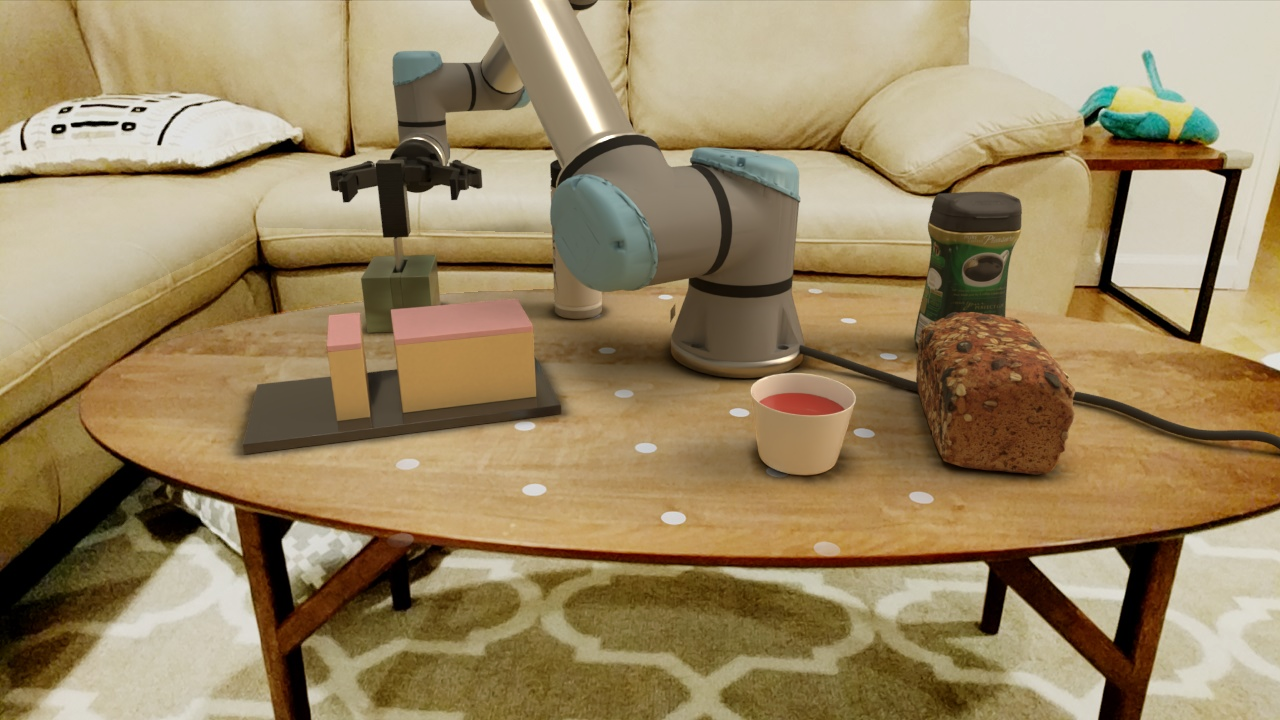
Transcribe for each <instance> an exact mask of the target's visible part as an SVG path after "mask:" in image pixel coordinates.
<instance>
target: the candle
mask: <svg viewBox="0 0 1280 720" xmlns="http://www.w3.org/2000/svg"><path fill="white" fill-rule="evenodd" d="M749 393H750V402H751V408H752V409H751V410H752V416H753V425H754V431H755V438H756V445H757V452H758V456H759V459H761V461H762V462H763V464H765V465H767V466H768V467H769V468H771V469H772V470H775V471H777V472H781V473H784V474H790V475H794V476H813V475H818V474H823V473H825V472H828V471H829V470H831V469H832V468H833V467H834V466H835V465H836V463H837V462H838V459H839V456H840V453H841V450H842V447H843V444H844V441H845V437H846V434H847V431H848V428H849V424H850V422H851V418H852V414H853V412H854V408H855V406H856V401H857V396H856V394H855V392H854V391H853V390H852V388H850V387H849V386H848V385H846V384H844V383H842V382H840V381H838V380H836V379H833V378H831V377H826V376H823V375H819V374H811V373H800V372H784V373H781V374H776V375H771V376H766V377H761V378H759V379H758V380H756V381H755V382H754V383H753V384H752V385H751V387H750V391H749Z"/></svg>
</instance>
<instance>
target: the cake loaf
mask: <svg viewBox="0 0 1280 720" xmlns="http://www.w3.org/2000/svg"><path fill="white" fill-rule="evenodd" d="M391 318H392V327H393V332H392V335H393V344H394V354H395V363H396V369H397V372H398V381H399V388H400V396H401V403H402V411H403V413H407V412H415V411H423V410H432V409H440V408H448V407H456V406H465V405H473V404H481V403H489V402H498V401H506V400H514V399H522V398H531V397H536V381H535V359H534V355H535V340H534V339H535V338H534V337H535V336H534V325H533V323H532V322H531V320H530V318H529V317H528V314H527V312H526V311H525V310H524V308H523V307H522V304H521V302H520V300H519V299H518V298H516V297H515V298H508V299H506V298H505V299H496V300H495V299H494V300H482V301H471V302H462V303H450V304H449V303H448V304H440V305H437V306H426V307H415V308H404V309H392V310H391Z"/></svg>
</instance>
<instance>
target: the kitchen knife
mask: <svg viewBox="0 0 1280 720" xmlns="http://www.w3.org/2000/svg"><path fill="white" fill-rule="evenodd" d="M375 167H376V175H377V184H378V186H377V192H378V193H377V194H378V201H379V211H380V221H381V230H382V238H385V239H386V238H389V239H390V238H393V239H392V241H393V242H392V243H393V249H394V256H395V261H396V271H397V273H402V272H403V270H404V268H405V265H404V256H405V255H404V247H403V238H408V237H409V236H410V234H411V232H412V231H411V229H412V228H411V220H410V218H411V217H410V210H409V198H408V191H407V187H406V177H405V166H404V160H403V159H401V160H390V159H378V160H377V161H376V162H375Z"/></svg>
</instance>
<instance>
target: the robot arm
mask: <svg viewBox="0 0 1280 720" xmlns="http://www.w3.org/2000/svg"><path fill="white" fill-rule="evenodd" d="M469 1H470V4H471V6H472V7H473V9H474V10H475V11H476V13H477V14H478V15H479V16H481V17H482V18H483V19H485V20H487V21H490V22H493V23H494V24H495V27H496V29H497V31H498V34H497V35H496V37H495V38H494V40H493V41H492V44H491V45H490V46H489V48H488V50H487V51H486V53H485V55H484V56H483V57H482V59H481V60H480V61H477V62H443V60H442V56H441V54H440V52H438V51H435V50H401V51H397V52H396V53H394V55H393V56H392V85H393V92H394V101H395V109H396V119H397V133H398V142H399V144H398V145H397V146H396V148H395V149H394V150H393V151H392V153H391V154H390V157H389V160H401V159H403V160H404V166H405V177H406V187H407V192H409V193H412V194H413V193H414V194H420V193H421V194H422V193H425V192H428V191H430V190H432V189H433V188H434V187H436V186H445V187H449V190H450V201H458V199H459V196H460V192H461V191H467V190H468V189H469V190H470V187H471V188H472V189H476V190H480V189H482V188H483V173H482V169H481V168H478V167H475V166H472V165H469V164H466V163H464V162H462V161H461V160H460V159H454V160H452V161H449V160H450V159H451V146H450V143H449V141H448V134H447V118H446V115H447V113H448V114H449V113H463V112H464V113H465V112H482V111H483V112H484V111H511V110H513V109H521V108H525V107H527V106H528V105H529V103H531V104H532V107H533V109H534V111H535V113H536V115H537V117H538V120H539V122H540V124H541V126H542V128H543V131H544V133H545V135H546V137H547V139H548V142H549V143H550V146H551V148H552V150H553V153H554V155H555V157H556V160H557V159H558V161H559V163H560V165H561V168H562V170H561V171H560V173H559V175H558V178H557V181H556V191H555V193H554V195H553V198H552V201H551V200H550V211H549V217H550V225H551V227H552V226H553V227H554V229H555V234H554V235H553V237H554V241H555V244H556V247H557V250H558V252H559V254H560V257H561V259H562V260H563V262H564V264H565V265H566V267H567V268H568V270H569V271H570V273H571V274H572V275H573V276H574V277H575V278H576V279H577V280H578V281H579V282H580V283H582V284H583V285H585V286H586V287H588V288H590V289H594V290H597V291H600V292H602V293H612V292H619V291H625V292H626V291H627V292H634V291H639V290H641V289H643V288H646V287H653V286H657V285H662V284H663V285H664V284H668V283H672V282H678V281H683V280H688V286H687V291H686V294H685V297H684V299H683V303H682V305H681V308H680V310H679V313H678V316H677V318H676V321H675V324H674V327H673V330H672V332H671V336H670V353H671V356H672V358H673V359H674V360H675V361H676V362H677V363H679V364H680V365H683V366H684V367H686V368H687V369H690V370H693V371H696V372H699V373H702V374H705V375H709V376H715V377H722V378H723V377H724V378H735V379H754V378H764V377H767V376H771V375H776V374H784V373H788V372H789V371H791V370H793V369H795V368H796V367H798V366H800V364H801V363H802V362H803V359H804V356H806V357H810V358H813V359H816V360H820V361H823V362H825V363H828V364H832V365H833V366H838V367H841V368H844V369H846V370H849V371H852V372H855V373H858V374H861V375H864V376H866V377H870V378H873V379H876V380H878V381H879V380H880V381H883V382H886V383H888V384H890V385H894V386H897V387H900V388H903V389H906V390H908V391H909V390H910V391H913V392H916V393H918V383H917V382H916V381H913V380H910V379H907V378H904V377H900V376H897V375H895V374H892V373H889V372H885V371H882V370H880V369H876V368H873V367H870V366H867V365H864V364H860V363H858V362H854V361H852V360H850V359H846V358H844V357H841V356H838V355H834V354H832V353H828V352H825V351H822V350H819V349H815V348H811V347H809V346H806V345H805V338H804V335H803V331H802V328H801V323H800V320H799V316H798V312H797V308H796V303H795V300H794V296H793V279H794V278H793V277H794V266H795V253H796V243H797V233H798V221H799V211H800V210H799V207H800V204H801V197H800V171H799V168H798V167H797V165H796V163H795V162H794V161H792V160H791V159H789V158H786V157H782V156H779V155H774V154H767V153H762V152H756V151H749V150H741V149H731V148H723V147H722V148H721V147H705V146H703V147H696V148H694V149H693V150H692V153H691V156H690V158H689V162H690V164H691V165H679V166H671V165H669V164H668V162H667V159H666V158H665V156H664V154H663V152H662V150H661V148H660V146H659V144H658V142H657V141H656V140H655V139H654V138H653V137H652V136H651V135H649V134H646V133H643V132H637V131H635V129H634V128H633V125H632V124H631V121H630V119H629V117H628V116H627V113H626V112H625V110H624V108H623V106H622V104H621V102H620V100H619V98H618V96H617V94H616V92H615V90H614V88H613V86H612V84H611V81H610V80H609V78H608V76H607V74H606V71H604V68H603V66H602V64H601V62H600V60H599V58H598V56H597V54H596V53H595V50H594V49H593V47H592V45H591V42H590V41H589V38H588V37H587V35H586V32H585V31H584V28H583V27H582V25H581V23H580V21H579V19H578V17H577V16H578V14H579V13H580V12H585V11H588V10H589V9H591V8H592V7H594V6H595V5H596V4H597V2H598V1H599V0H469ZM375 164H376V162H374V161H372V160H366V161H364V162H362V163H360V164H355V165H352V166H348V167H344V168H340V169H336V170H331V171H329V172H328V173H329V181H330V188H331V191H332V192H339V193H341V196H342V202H343V203H350V202H351V201H352V200H353V199H354V198H355V197H356V196H357V194H358V193H359V190H364V189H369V188H375V187H378V184H377V175H376V166H375ZM669 314H670V315H669V316H670V320H669V323H672V321H673V319H675V316H676V303H674V304H673V305H672V307H671V309H670V313H669ZM1073 401H1074V402H1080V403H1085V404H1089V405H1094V406H1099V407H1102V408H1106V409H1109V410H1111V411H1112V410H1113V411H1116V412H1119V413H1120V414H1124V415H1126V416H1129V417H1130V418H1134V419H1136V420H1138V421H1141V422H1143V423H1145V424H1147V425H1149V426H1153V427H1154V428H1157V429H1160V430H1162V431H1166V432H1168V433H1171V434H1174V435H1177V436H1181V437H1185V438H1189V439H1193V440H1194V439H1195V440H1199V441H1212V442H1213V441H1214V442H1231V441H1233V442H1234V441H1235V442H1237V441H1239V442H1240V441H1244V442H1245V441H1247V442H1249V441H1250V442H1258V443H1259V442H1260V443H1265V444H1268V445H1271V446H1273V447H1275V448H1277V449H1278V450H1280V436H1278V435H1276V434H1274V433H1270V432H1266V431H1260V430H1249V429H1248V430H1247V429H1232V430H1227V429H1226V430H1213V429H1211V430H1210V429H1200V428H1199V429H1198V428H1193V427H1189V426H1186V425H1182V424H1179V423H1175V422H1173V421H1169V420H1166V419H1164V418H1161V417H1158V416H1156V415H1154V414H1151V413H1149V412H1147V411H1144V410H1142V409H1140V408H1137V407H1134V406H1132V405H1130V404H1127V403H1124V402H1121V401H1118V400H1115V399H1111V398H1107V397H1104V396H1099V395H1096V394H1091V393H1086V392H1081V391H1077V390H1075V394H1074V397H1073Z"/></svg>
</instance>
